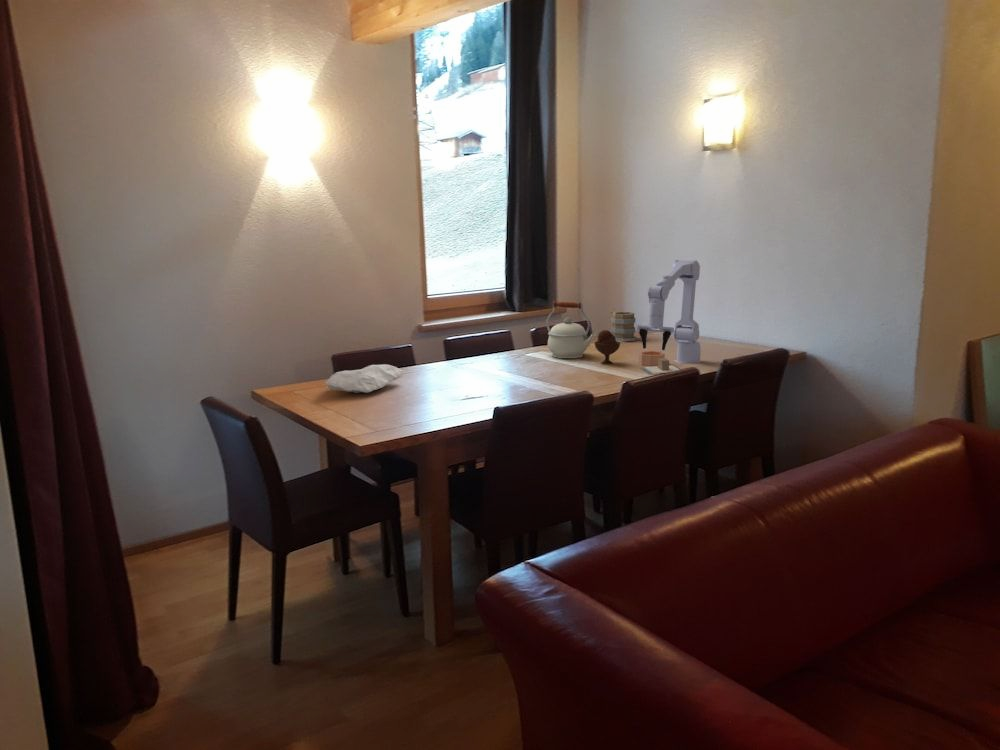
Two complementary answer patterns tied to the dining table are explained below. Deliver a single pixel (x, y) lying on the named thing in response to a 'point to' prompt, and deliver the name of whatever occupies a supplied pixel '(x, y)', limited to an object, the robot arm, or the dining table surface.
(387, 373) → the crumpled cloth
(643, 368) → the mat
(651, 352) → the bowl
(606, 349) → the ice cream bowl
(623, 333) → the tankard
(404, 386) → the dining table surface
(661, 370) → the lid
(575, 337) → the kettle
